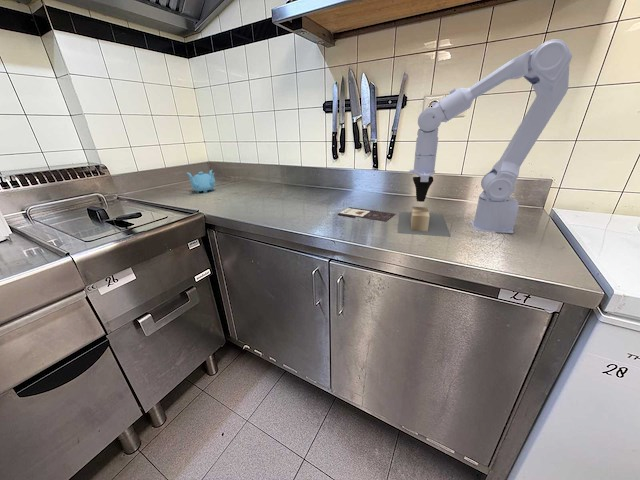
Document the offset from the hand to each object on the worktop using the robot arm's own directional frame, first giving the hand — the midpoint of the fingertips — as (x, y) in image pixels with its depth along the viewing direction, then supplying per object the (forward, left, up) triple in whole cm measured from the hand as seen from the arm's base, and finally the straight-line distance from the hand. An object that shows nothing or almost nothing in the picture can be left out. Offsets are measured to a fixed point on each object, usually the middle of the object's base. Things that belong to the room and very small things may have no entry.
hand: (420, 201), depth 82 cm
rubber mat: (-1, +2, -7) cm, 7 cm away
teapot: (+105, -30, -7) cm, 110 cm away
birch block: (0, 0, -4) cm, 4 cm away
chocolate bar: (+17, -4, -8) cm, 19 cm away
